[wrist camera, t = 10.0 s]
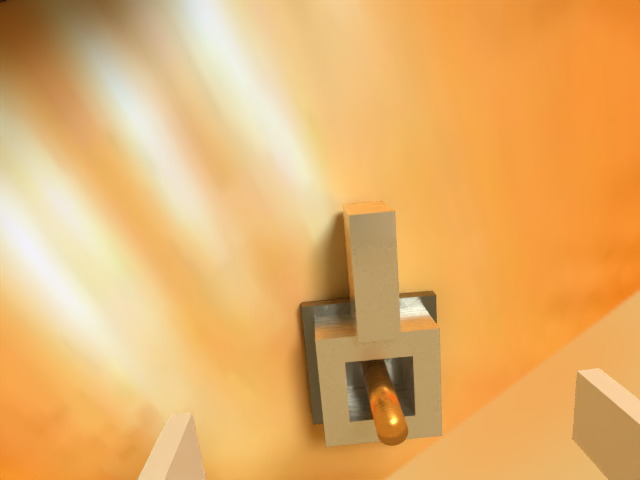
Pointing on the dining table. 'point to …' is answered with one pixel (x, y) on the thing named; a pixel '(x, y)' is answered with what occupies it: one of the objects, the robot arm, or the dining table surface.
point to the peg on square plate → (365, 368)
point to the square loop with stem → (376, 336)
